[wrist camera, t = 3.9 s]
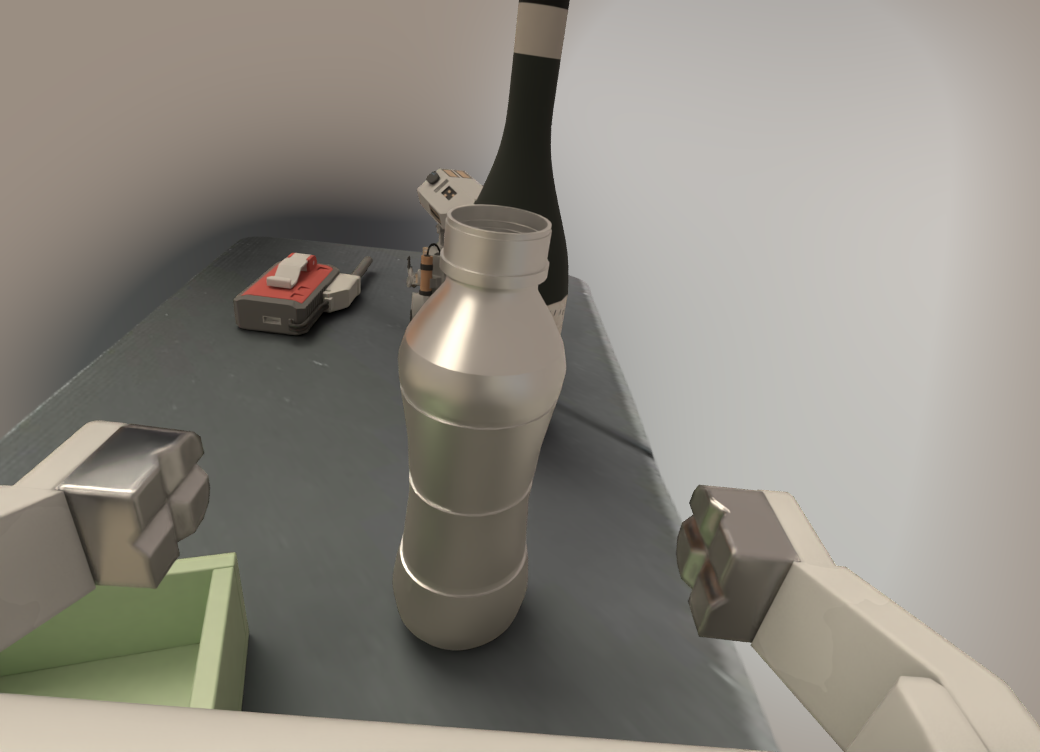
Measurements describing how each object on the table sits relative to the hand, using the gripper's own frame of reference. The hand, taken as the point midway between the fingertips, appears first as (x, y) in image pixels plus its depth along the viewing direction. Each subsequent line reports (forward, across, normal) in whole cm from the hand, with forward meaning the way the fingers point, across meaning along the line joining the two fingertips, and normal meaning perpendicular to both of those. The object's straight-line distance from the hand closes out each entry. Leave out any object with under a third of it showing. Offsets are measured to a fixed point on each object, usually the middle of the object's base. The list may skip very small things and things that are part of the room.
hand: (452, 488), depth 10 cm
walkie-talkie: (+48, -18, -19) cm, 55 cm away
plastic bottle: (+12, 0, -19) cm, 22 cm away
